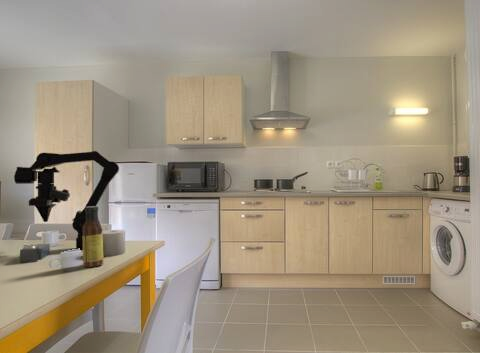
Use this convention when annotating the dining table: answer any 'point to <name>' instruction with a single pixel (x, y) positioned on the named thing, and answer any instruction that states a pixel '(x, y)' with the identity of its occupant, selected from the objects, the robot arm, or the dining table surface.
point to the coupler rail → (29, 254)
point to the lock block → (43, 250)
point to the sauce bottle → (92, 238)
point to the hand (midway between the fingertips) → (45, 221)
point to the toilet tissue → (113, 242)
